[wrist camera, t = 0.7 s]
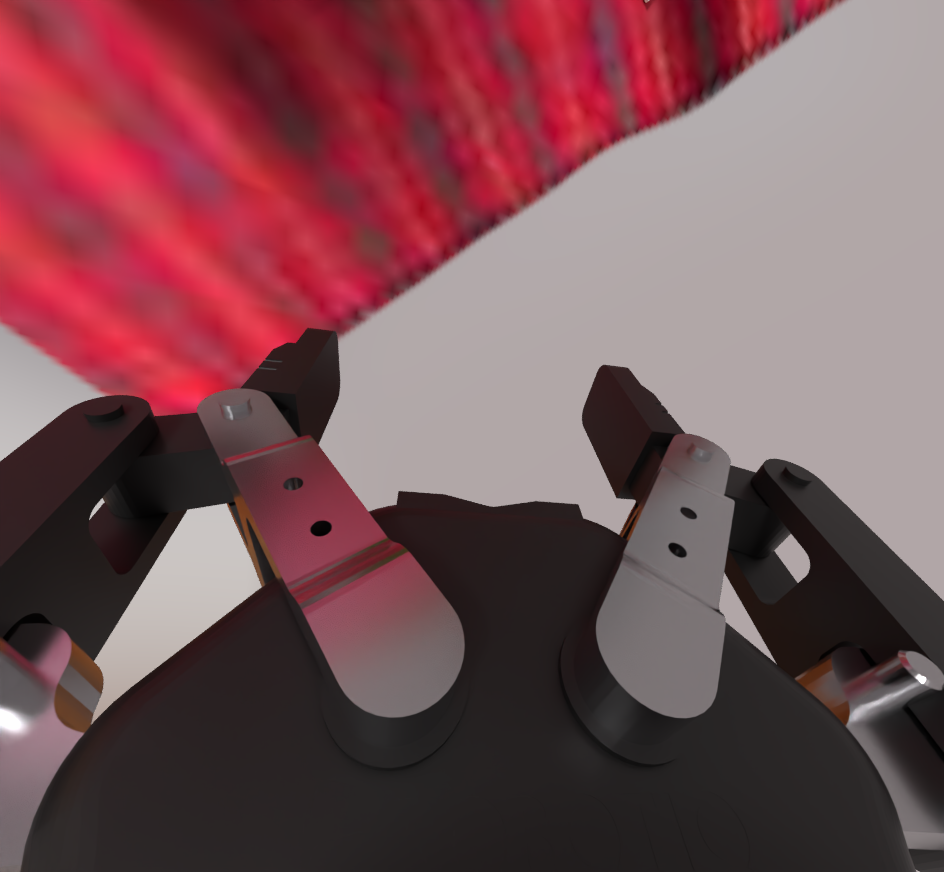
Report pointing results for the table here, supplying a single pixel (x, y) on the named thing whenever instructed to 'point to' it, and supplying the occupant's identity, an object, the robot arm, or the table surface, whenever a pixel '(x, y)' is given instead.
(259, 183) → the table surface
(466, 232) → the table surface
